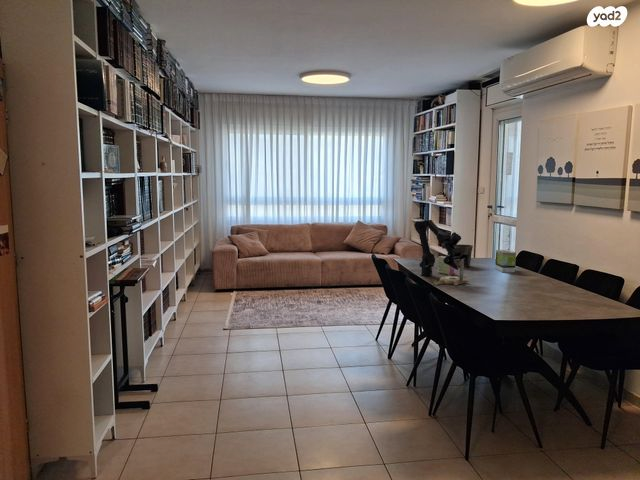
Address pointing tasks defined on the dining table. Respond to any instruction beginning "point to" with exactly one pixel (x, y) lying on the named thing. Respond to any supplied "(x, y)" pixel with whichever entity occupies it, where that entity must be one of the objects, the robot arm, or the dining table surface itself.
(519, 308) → the dining table surface
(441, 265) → the box
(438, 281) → the pointer
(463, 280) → the index wheel
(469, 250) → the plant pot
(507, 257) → the tea box
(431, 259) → the robot arm
